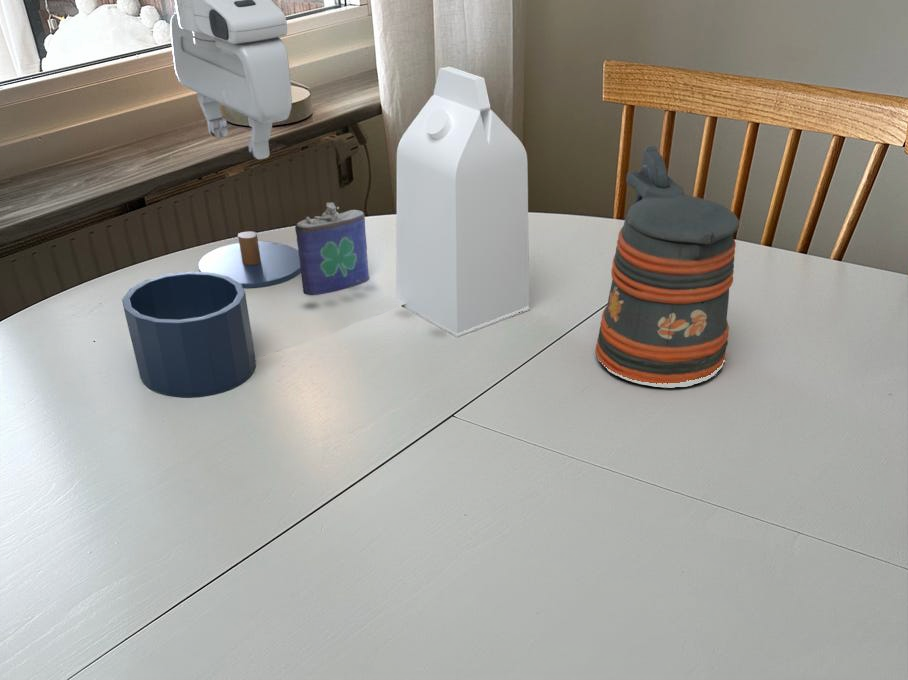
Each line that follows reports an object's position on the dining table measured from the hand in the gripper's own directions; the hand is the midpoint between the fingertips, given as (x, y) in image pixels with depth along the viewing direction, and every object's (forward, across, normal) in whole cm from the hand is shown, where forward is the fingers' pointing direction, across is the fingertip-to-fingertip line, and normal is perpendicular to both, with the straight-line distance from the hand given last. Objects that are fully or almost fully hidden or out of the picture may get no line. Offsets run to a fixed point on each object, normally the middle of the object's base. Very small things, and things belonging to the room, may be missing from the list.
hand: (239, 146), depth 116 cm
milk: (+18, +18, +18) cm, 31 cm away
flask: (+18, +5, +8) cm, 20 cm away
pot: (+18, +13, -15) cm, 27 cm away
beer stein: (+18, +41, +28) cm, 53 cm away
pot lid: (+17, -7, +3) cm, 19 cm away
